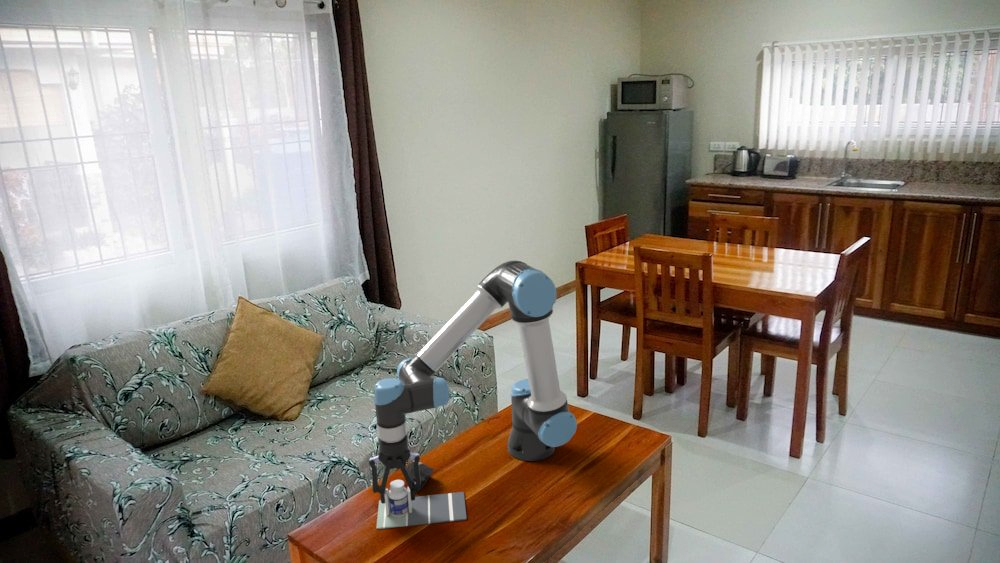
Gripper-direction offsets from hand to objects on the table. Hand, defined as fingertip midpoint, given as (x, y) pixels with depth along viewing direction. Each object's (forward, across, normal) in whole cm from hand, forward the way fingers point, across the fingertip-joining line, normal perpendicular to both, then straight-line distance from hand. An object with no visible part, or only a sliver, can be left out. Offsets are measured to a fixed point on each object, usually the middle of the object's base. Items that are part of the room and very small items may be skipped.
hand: (399, 510), depth 176 cm
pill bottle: (+1, 0, 0) cm, 1 cm away
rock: (+1, -6, -13) cm, 15 cm away
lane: (+1, -6, 0) cm, 6 cm away
